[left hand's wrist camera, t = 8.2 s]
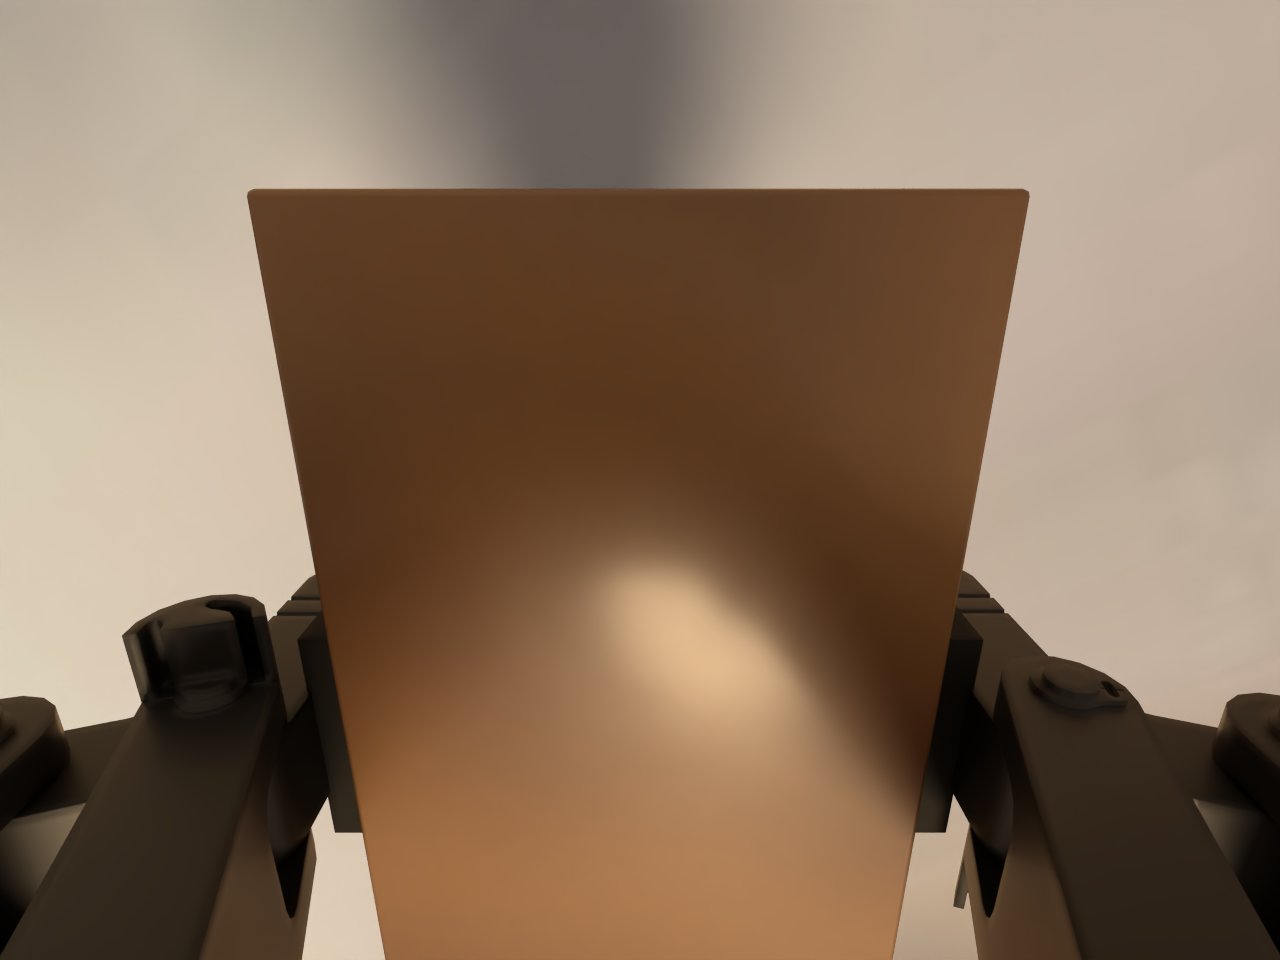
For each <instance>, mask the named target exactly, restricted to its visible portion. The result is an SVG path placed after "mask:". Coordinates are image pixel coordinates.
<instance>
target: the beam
mask: <svg viewBox="0 0 1280 960" xmlns="http://www.w3.org/2000/svg"><path fill="white" fill-rule="evenodd" d="M247 198H248V204H249V209H250V215H251V220H252V226H253V231H254V237H255V242H256V248H257V253H258V259H259V264H260V270H261V275H262V281H263V286H264V292H265V298H266V303H267V309H268V314H269V320H270V325H271V331H272V336H273V342H274V347H275V353H276V358H277V364H278V369H279V375H280V380H281V386H282V391H283V397H284V402H285V408H286V413H287V419H288V424H289V430H290V435H291V441H292V446H293V452H294V457H295V463H296V469H297V474H298V480H299V485H300V491H301V496H302V502H303V507H304V513H305V518H306V524H307V529H308V535H309V540H310V546H311V551H312V557H313V562H314V568H315V573H316V579H317V584H318V590H319V595H320V601H321V606H322V612H323V617H324V623H325V628H326V634H327V639H328V645H329V651H330V656H331V662H332V667H333V673H334V678H335V684H336V689H337V695H338V700H339V706H340V711H341V717H342V722H343V728H344V733H345V739H346V744H347V750H348V755H349V761H350V766H351V772H352V777H353V783H354V788H355V794H356V799H357V805H358V810H359V816H360V821H361V827H362V833H363V838H364V844H365V849H366V855H367V860H368V866H369V871H370V877H371V882H372V888H373V893H374V899H375V904H376V910H377V915H378V921H379V926H380V932H381V937H382V943H383V948H384V954H385V959H386V960H892V959H893V953H894V948H895V942H896V936H897V931H898V925H899V920H900V914H901V909H902V903H903V897H904V892H905V886H906V881H907V875H908V870H909V864H910V858H911V853H912V847H913V842H914V836H915V831H916V825H917V820H918V814H919V808H920V803H921V797H922V792H923V786H924V781H925V775H926V769H927V764H928V758H929V753H930V747H931V742H932V736H933V731H934V725H935V719H936V714H937V708H938V703H939V697H940V692H941V686H942V680H943V675H944V669H945V664H946V658H947V653H948V647H949V641H950V636H951V630H952V625H953V619H954V614H955V608H956V603H957V597H958V591H959V586H960V580H961V575H962V569H963V564H964V558H965V552H966V547H967V541H968V536H969V530H970V525H971V519H972V514H973V508H974V502H975V497H976V491H977V486H978V480H979V475H980V469H981V463H982V458H983V452H984V447H985V441H986V436H987V430H988V424H989V419H990V413H991V408H992V402H993V397H994V391H995V386H996V380H997V374H998V369H999V363H1000V358H1001V352H1002V347H1003V341H1004V335H1005V330H1006V324H1007V319H1008V313H1009V308H1010V302H1011V297H1012V291H1013V285H1014V280H1015V274H1016V269H1017V263H1018V258H1019V252H1020V246H1021V241H1022V235H1023V230H1024V224H1025V219H1026V213H1027V207H1028V202H1029V192H1028V191H1026V190H1024V189H253V190H251V191H249V192H248V195H247Z"/></svg>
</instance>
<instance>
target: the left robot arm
mask: <svg viewBox="0 0 1280 960" xmlns="http://www.w3.org/2000/svg"><path fill="white" fill-rule="evenodd" d="M122 638H123V641H124V645H125V648H126V651H127V655H128V658H129V661H130V665H131V668H132V672H133V675H134V678H135V682H136V685H137V688H138V692H139V695H140V699H141V702H142V703H141V705H140V707H139V709H138V711H137V712H136V714H135V716H134V717H132V718H128V719H123V720H118V721H113V722H108V723H102V724H97V725H92V726H87V727H82V728H77V729H71V730H66V731H64V730H63V727H62V724H61V721H60V718H59V715H58V712H57V710H56V707H55V705H53V704H52V703H50V702H49V701H48V700H46V699H45V698H38V697H28V696H19V697H12V698H5V699H0V960H302V954H303V947H304V941H305V934H306V927H307V920H308V913H309V906H310V900H311V893H312V886H313V879H314V872H315V866H316V851H315V843H314V838H313V834H312V829H311V827H312V825H313V823H314V821H315V819H316V817H317V816H318V814H319V812H320V810H321V808H322V806H323V804H324V803H325V801H326V799H327V797H328V799H329V804H330V810H331V815H332V820H333V825H334V830H335V833H362V827H361V821H360V816H359V810H358V805H357V799H356V794H355V788H354V783H353V777H352V772H351V766H350V761H349V755H348V750H347V744H346V739H345V733H344V728H343V722H342V717H341V711H340V706H339V700H338V695H337V689H336V684H335V678H334V673H333V667H332V662H331V656H330V651H329V645H328V639H327V634H326V628H325V623H324V617H323V612H322V606H321V601H320V595H319V590H318V584H317V579H316V574H315V575H314V576H312V577H310V578H308V580H307V581H306V582H305V583H304V584H303V585H302V586H301V587H300V588H299V589H298V590H297V591H296V592H295V593H294V594H293V596H292V597H291V600H288V601H287V602H286V603H285V604H284V605H283V606H282V607H281V608H280V609H279V611H278V612H277V616H273V617H272V618H271V619H270V620H269V621H267V616H266V611H265V607H264V604H262V603H261V602H259V601H258V600H257V599H255V598H254V597H248V596H243V595H237V594H229V595H211V596H206V597H201V598H196V599H191V600H186V601H183V602H180V603H177V604H174V605H172V606H169V607H166V608H163V609H160V610H158V611H156V612H154V613H152V614H151V615H149V616H147V617H145V618H143V619H142V620H140V621H138V622H136V623H135V624H134V625H133V626H132V627H131V628H130V629H129V630H128V631H127V632H125V633H124V634H123V635H122ZM953 794H954V796H955V798H956V800H957V801H958V803H959V805H960V807H961V809H962V810H963V812H964V814H965V816H966V818H967V820H968V821H969V823H970V824H969V829H968V834H967V838H966V843H965V848H964V852H963V857H962V862H961V867H960V871H959V876H958V881H957V886H956V890H955V898H954V905H953V906H954V907H958V908H962V909H964V905H965V900H966V896H967V893H968V892H969V898H970V905H971V912H972V918H973V925H974V932H975V939H976V946H977V952H978V959H979V960H1280V695H1272V694H1265V693H1251V694H1241V695H1237V696H1236V697H1234V698H1233V699H1231V700H1230V701H1228V702H1227V704H1226V706H1225V709H1224V712H1223V715H1222V718H1221V721H1220V724H1219V726H1218V728H1216V727H1211V726H1206V725H1201V724H1195V723H1190V722H1185V721H1180V720H1175V719H1169V718H1164V717H1159V716H1154V715H1150V714H1146V713H1144V711H1143V709H1142V707H1141V706H1140V704H1139V702H1138V701H1137V700H1136V699H1135V698H1134V696H1133V695H1132V694H1131V693H1130V692H1129V691H1128V690H1127V688H1126V687H1124V686H1123V685H1121V684H1120V683H1118V682H1117V681H1115V680H1114V679H1112V678H1111V677H1109V676H1108V675H1106V674H1105V673H1102V672H1100V671H1098V670H1095V669H1093V668H1090V667H1088V666H1086V665H1083V664H1081V663H1078V662H1074V661H1070V660H1066V659H1061V658H1057V657H1050V656H1048V655H1047V654H1046V653H1045V652H1044V651H1043V650H1042V649H1041V648H1040V647H1039V646H1038V645H1037V644H1036V643H1035V642H1034V641H1033V639H1032V638H1031V637H1030V636H1029V635H1028V634H1027V633H1026V632H1025V631H1024V630H1023V629H1022V628H1021V627H1020V626H1019V625H1018V624H1017V622H1016V621H1015V620H1014V619H1013V618H1012V617H1011V616H1010V615H1009V614H1008V613H1004V609H1003V608H1002V607H1001V606H1000V604H999V603H998V602H997V601H996V600H995V599H994V598H990V594H989V593H988V592H987V591H986V590H985V589H984V587H983V586H982V585H981V584H980V583H979V582H978V581H977V580H976V579H975V578H974V577H973V576H972V575H970V574H968V573H966V572H965V571H963V570H962V575H961V580H960V586H959V591H958V597H957V603H956V608H955V614H954V619H953V625H952V630H951V636H950V641H949V647H948V653H947V658H946V664H945V669H944V675H943V680H942V686H941V692H940V697H939V703H938V708H937V714H936V719H935V725H934V731H933V736H932V742H931V747H930V753H929V758H928V764H927V769H926V775H925V781H924V786H923V792H922V797H921V803H920V808H919V814H918V820H917V825H916V831H915V832H930V833H946V828H947V823H948V818H949V813H950V808H951V803H952V798H953Z"/></svg>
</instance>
